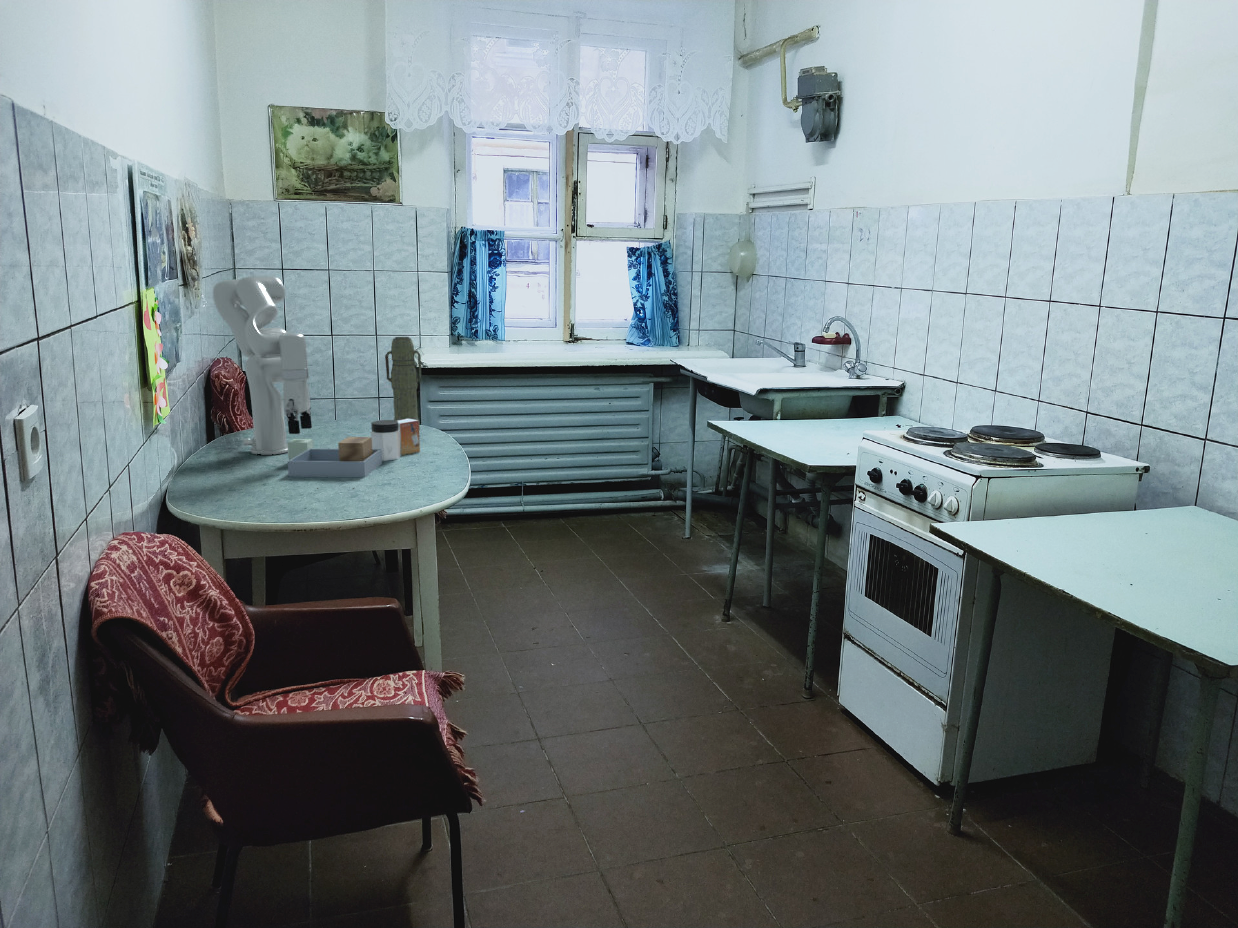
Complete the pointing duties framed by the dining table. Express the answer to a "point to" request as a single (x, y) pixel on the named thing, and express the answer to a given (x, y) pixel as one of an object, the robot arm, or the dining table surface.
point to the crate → (331, 464)
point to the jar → (386, 438)
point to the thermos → (404, 378)
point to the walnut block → (355, 448)
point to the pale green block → (298, 447)
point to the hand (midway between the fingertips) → (300, 431)
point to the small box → (409, 436)
